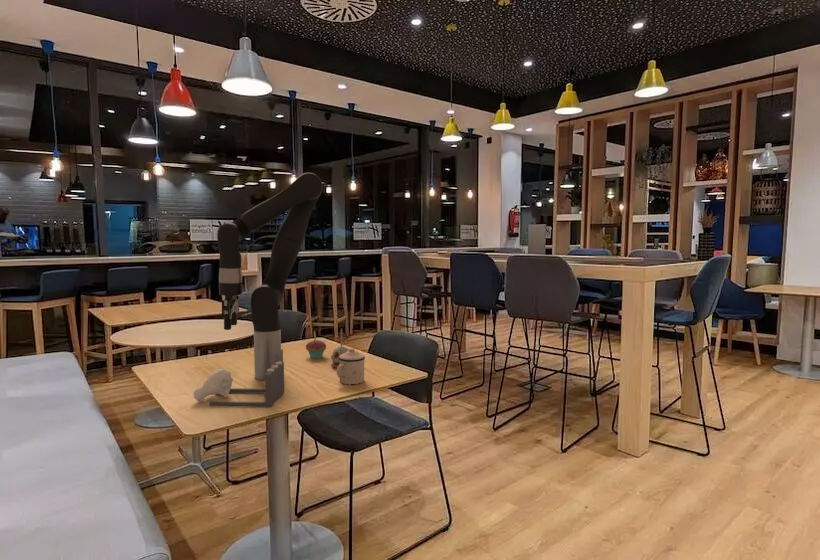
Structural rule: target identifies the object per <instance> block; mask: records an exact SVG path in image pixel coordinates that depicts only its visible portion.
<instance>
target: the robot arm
mask: <svg viewBox="0 0 820 560" xmlns="http://www.w3.org/2000/svg"><path fill="white" fill-rule="evenodd" d="M323 191H324V185H323V182H322V179H321V178H320V176H318V174H316V173H313V172H303V173H302V174H300V175H299V176H298V177H297V178H296V179H295V180H294V181H293V182H292V183H290V184H289V186H287V187H285V188H284V189H282V190H281V191H279V192H278V193H277V194H275V195H273V196H272V197H270V198H268V199H266V200H263V201H262V202H261V203H260V202H259V204H257V205H255V206H254V207H252V208H250V209H249V210H246V211H245V212H244V213H243V214H242V215H241V217H238V218H237V219H235V220H233V221H232V222H226V223H223V224H221V225H220V226H219V227H218V229H217V234H216V235H217V236H216V238H217V246H218V252H219V269H218V270H219V272H218V294H219V295H220V296H224V299H222V300H221V318H222V319H223V329H224V330H225V331H231V329H232V326H236V325H238V314H239V312H240V296H241V295H242V294H243V271H242V254H241V253H240V246H239V245H240V242H241V241H243V239H245V238H247V237H248V236H249V235H250V234H252V233H253V232H255V231H257V230H259V229H261V228H263V227H264V226H266V225H268V224H269V223H272V222H273V221H274V220H275V219H277V218H278V217H279V216H281V215H282V214H283V213H285V212H287V213H286V216H285V217H284V219H283V221H282V223H281V224H280V226H279V228H278V231H277V233H276V235H275V236H276V237H275V238H274V241H273V244H272V247H271V248H272V249H271V252H270V253H271V254H270V260H269V261H270V262H269V267H268V271H267V274H266V275H265V277H264V280H263V282H262V284H261V286H258V287H256V288H255V289H254V290H253V292H252V293H251V296H250V311H251V313H250V314H251V323H252V325H253V353H254V354H253V355H254V356H253V357H254V358H253V360H254V361H253V363H254V364H253V365H254V378H255V379H256V380H259V381H265V374H266V373H267V369H272V368H271V366H272V365H275V362H284V349H283V348H282V336H281V335H282V333H281V331H282V328H281V326H282V325H281V324H282V323H281V321H280V318H279V305H281V302H282V300H283V296H284V291H285V288H286V284H287V281H288V279H289V278H288V277H289V275H290V273H291V271H292V269H293V267H294V264H295V263H296V261H297V258H298V255H299V253H300V251H301V248H302V246H303V243H304V239H305V238H306V234H307V230H308V229H307V228H308V226H309V221H310V217H311V215H312V212H313V210H314V208H315V206H316V204H317V202H318V200H319V199H320V197H321V195H322V193H323Z"/></svg>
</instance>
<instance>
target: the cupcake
mask: <svg viewBox="0 0 820 560" xmlns="http://www.w3.org/2000/svg"><path fill="white" fill-rule="evenodd" d="M313 339H314V340H311V341H309V342H307V344H306V345H305V350H306V351H307V352H308V354H309V356H310V358H311V359H313V358H318V359H322V358H321V357H323V356H324V352H325V350H326V349H327V344H326V342H323V341H322V340H317V337H316V330H313Z"/></svg>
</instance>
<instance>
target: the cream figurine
mask: <svg viewBox="0 0 820 560" xmlns="http://www.w3.org/2000/svg"><path fill="white" fill-rule="evenodd" d="M233 380H234V379H233V378H232V374H231V372H230V371H229V370H228V369H226V368H224V367H223V368H219V369H218V368H217V369H216V370H213V371H212V372H211V373H210V374H209V375H208V376H207V378H206V379H205V381H204V382H203V383H202V385H201V386H199V387H197V388H196V389H195V390H194V391H193V394H192V395H193V398H194V400H196V401H197V402H198V403H199V404H200V403H203V402H207V401H206V400H207V397H209V396H211V395H212V396H213V395H214V396H215V395H222V396H223V398H227V397H229V396H228V395H229V394H230V393H229V392H230V389H231V388H232V384H233Z"/></svg>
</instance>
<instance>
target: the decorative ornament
mask: <svg viewBox="0 0 820 560" xmlns="http://www.w3.org/2000/svg"><path fill="white" fill-rule="evenodd" d="M349 349H350V348H348V347H346V346H344V345H343V328H340V346H337V347H335V348H334V349H333V351H332V354H331V355H330V359H331V362H332V363H330V366H331V367H333V368H337V367H338V366H339V356H340V355H341V354H344V353H346V352H347V351H349Z"/></svg>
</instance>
